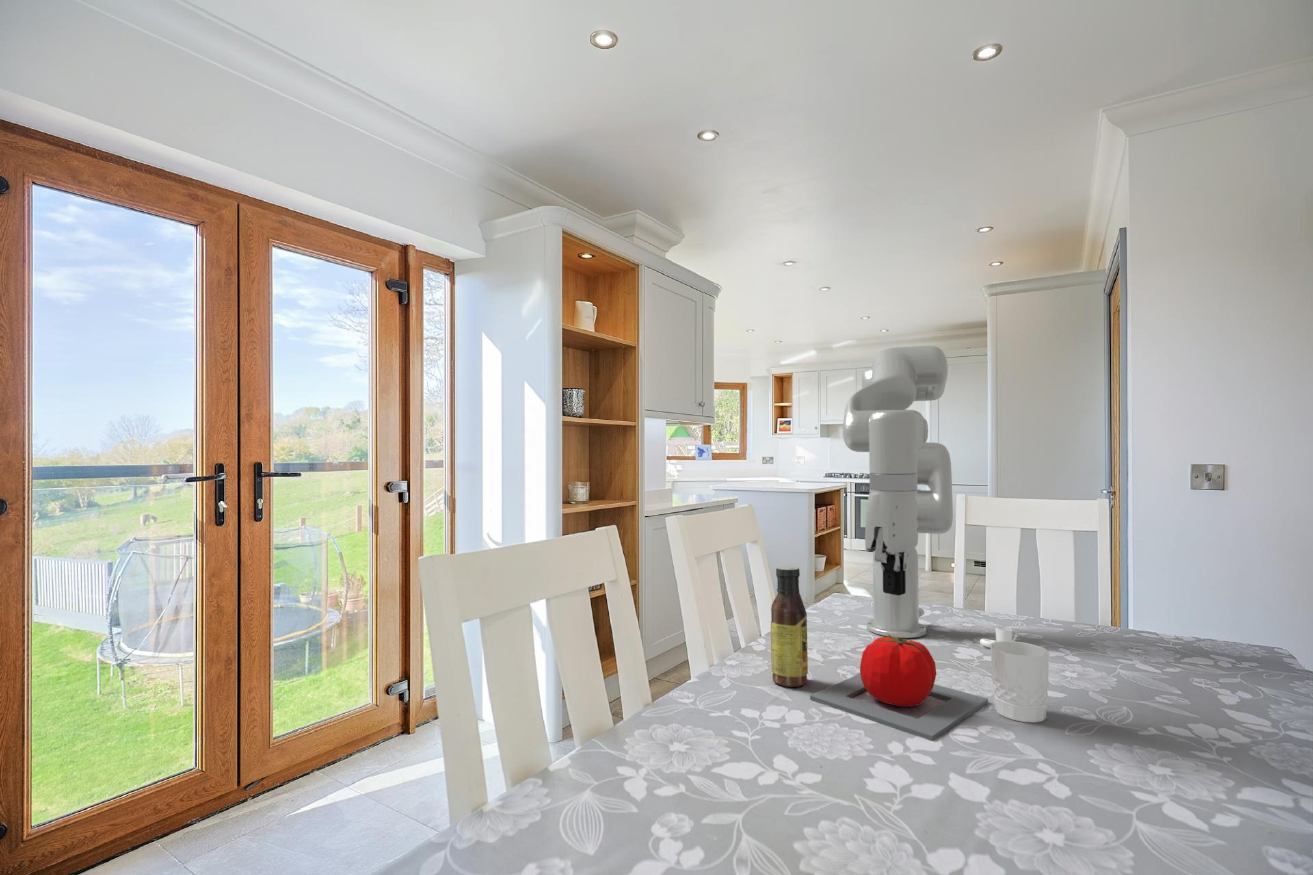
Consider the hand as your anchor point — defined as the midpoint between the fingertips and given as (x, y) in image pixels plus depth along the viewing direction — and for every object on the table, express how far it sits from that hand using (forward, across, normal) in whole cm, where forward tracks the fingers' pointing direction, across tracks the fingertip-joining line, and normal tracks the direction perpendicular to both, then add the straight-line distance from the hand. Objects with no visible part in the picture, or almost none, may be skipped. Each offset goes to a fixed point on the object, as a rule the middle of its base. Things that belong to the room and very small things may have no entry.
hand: (894, 593), depth 107 cm
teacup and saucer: (+19, -41, 0) cm, 45 cm away
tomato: (+17, +3, +2) cm, 17 cm away
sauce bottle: (+17, +9, -15) cm, 24 cm away
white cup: (+17, -6, +17) cm, 25 cm away
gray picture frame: (+16, +3, +2) cm, 17 cm away
